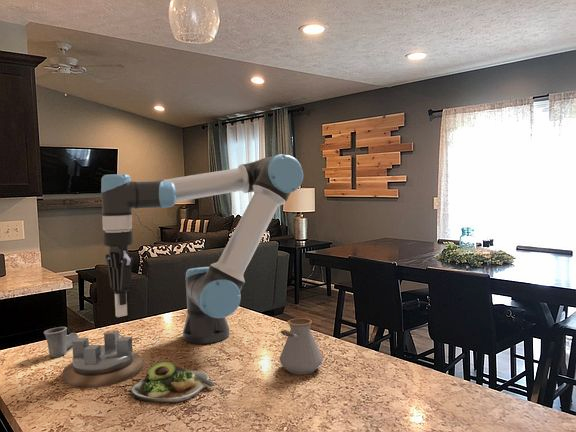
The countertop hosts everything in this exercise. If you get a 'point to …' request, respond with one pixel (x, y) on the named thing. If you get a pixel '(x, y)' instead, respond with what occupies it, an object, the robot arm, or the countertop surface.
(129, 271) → the robot arm
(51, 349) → the pipe
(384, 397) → the countertop surface
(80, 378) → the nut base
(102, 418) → the countertop surface
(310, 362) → the coffee pot
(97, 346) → the four-tab metal disc
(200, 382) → the salad plate
